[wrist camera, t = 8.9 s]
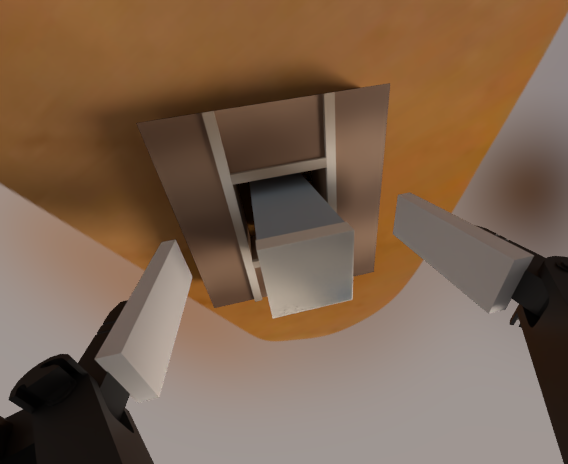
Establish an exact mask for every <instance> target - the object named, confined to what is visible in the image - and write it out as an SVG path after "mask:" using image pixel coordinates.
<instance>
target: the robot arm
mask: <svg viewBox="0 0 568 464" xmlns="http://www.w3.org/2000/svg"><path fill="white" fill-rule="evenodd" d="M393 234H394V235H395V236H396V237H397V238H398V239H400V240H401V241H402V242H403V243H404V244H406V245H407V246H408V247H409V248H410V249H412V250H413V251H414V252H415V253H416V254H418V255H419V256H420V257H421V258H422V259H424V260H425V261H426V262H427V263H428V264H430V265H431V266H432V267H433V268H434V269H436V270H437V271H438V272H439V273H440V274H442V275H443V276H444V277H445V278H447V279H448V280H449V281H450V282H451V283H452V284H454V285H455V286H456V287H457V288H458V289H460V290H461V291H462V292H463V293H464V294H466V295H467V296H468V297H469V298H470V299H472V300H473V301H474V302H475V303H476V304H478V305H479V306H480V307H481V308H482V309H484V310H485V311H486V312H487V313H493V312H497V311H501V310H505V309H506V308H507V306H508V304H509V302H510V300H511V298H512V299H513V300H515V301H516V302H517V303H519V305H518V307H517V309H516V311H515V312H514V314H513V316H512V318H511V320H510V325H514V323H515V322H516V320H518V319H519V320H520V325H519V327H521V328H522V330H523V333H524V337H525V340H526V343H527V346H528V349H529V353H530V356H531V359H532V362H533V365H534V368H535V372H536V375H537V378H538V382H539V385H540V388H541V391H542V394H543V397H544V401H545V404H546V407H547V411H548V414H549V417H550V420H551V423H552V426H553V430H554V433H555V436H556V439H557V443H558V446H559V449H560V452H561V455H562V459H563V462H564V464H568V257H561V256H552V257H547V258H544V257H543V256H541V255H539V254H537V253H535V252H533V251H531V250H529V249H526V248H524V247H522V246H520V245H518V244H516V243H514V242H512V241H510V240H507V239H506V238H504V237H502V236H498V234H496V233H494V232H492V231H490V230H488V229H486V228H483V227H479V226H475V225H473V224H471V223H469V222H467V221H465V220H463V219H461V218H459V217H457V216H455V215H453V214H451V213H449V212H447V211H445V210H443V209H441V208H439V207H438V206H436V205H434V204H432V203H430V202H428V201H426V200H424V199H422V198H420V197H418V196H416V195H414V194H412V193H405V194H400V195H398V199H397V207H396V215H395V222H394V230H393ZM191 281H192V275H191V273H190V270H189V268H188V266H187V264H186V261H185V259H184V257H183V255H182V253H181V250H180V248H179V246H178V244H177V241H176V239H175V240H170V241H165V242H161V244H160V246H159V247H158V249H157V251H156V253H155V254H154V256H153V258H152V260H151V261H150V263H149V265H148V267H147V268H146V270H145V272H144V274H143V275H142V277H141V279H140V280H139V282H138V284H137V286H136V287H135V289H134V291H133V293H132V295H131V296H130V298H129V300H127V301H123V302H120V303H119V304H118V305H117V306H116V307H115V308H114V309H113V310H112V311H111V312H110V313H109V315H108V316H107V318H106V319H105V321H104V323H103V325H102V326H101V327H100V329H99V330H98V332H97V335H95V337H94V338H93V340H92V342H91V343H90V345H89V346H88V348H87V350H86V351H85V353H84V354H83V356H82V357H81V359H80V361H79V362H78V363H77V362H76V361H75V360H74V359H72V358H71V357H70V356H69V355H68V354H59V355H57V356H53V357H50V358H49V359H47V360H45V361H43V362H41V363H39V364H38V365H37V366H35V367H34V368H32V369H31V370H30V371H28V372H27V373H26V374H25V375H24V376H23V377H22V378H21V379H20V380H19V381H18V382H17V384H16V385H15V387H14V388H13V390H12V391H11V393H10V397H9V400H10V401H11V402H13V403H15V404H16V405H18V406H19V407H21V408H22V409H23V410H21V411H19V412H17V413H15V414H13V415H11V416H9V417H7V418H5V419H4V418H3V417H1V416H0V464H154V463H153V461H152V459H151V457H150V454H149V452H148V450H147V448H146V446H145V444H144V442H143V440H142V438H141V436H140V434H139V431H138V429H137V427H136V425H135V423H134V421H133V419H132V417H131V415H130V413H129V411H128V410H127V409H126V408H125V406H126V403H127V400H128V398H129V395H130V396H131V397H132V398H133V399H134V400H135V401H136V402H137V403H140V402H144V401H148V400H152V399H156V398H159V397H160V393H161V390H162V386H163V382H164V379H165V375H166V371H167V368H168V364H169V361H170V357H171V353H172V349H173V346H174V342H175V339H176V335H177V332H178V328H179V324H180V321H181V317H182V313H183V310H184V306H185V302H186V299H187V295H188V292H189V288H190V284H191Z"/></svg>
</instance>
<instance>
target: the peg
mask: <svg viewBox="0 0 568 464" xmlns="http://www.w3.org/2000/svg"><path fill="white" fill-rule="evenodd" d="M249 183H250V191H251V199H252V207H253V215H254V223H255V231H256V239H257V240H255V241H256V250H257V254H258V258H259V263H260V267H261V271H262V275H263V279H264V283H265V288H266V292H267V296H268V300H269V304H270V308H271V313H272V317H273V318H277V317H281V316H285V315H289V314H294V313H298V312H302V311H306V310H311V309H315V308H319V307H323V306H328V305H332V304H336V303H340V302H345V301H349V300H352V298H353V262H354V229H353V228H352V227H351V226H350V225H349V224H348V223H347V222H344V221H343V219H342V218H341V217H340V216H339V215H338V214H337V213H336V212H335V211H334V210H333V208H332V207H331V206H330V205H329V204H328V203H327V202H326V201H325V200H324V199H323V197H322V196H321V195H320V194H319V193H318V192H317V191H316V190H315V189H314V188H313V186H312V185H311V184H310V183H309V182H308V181H307V180H306V179H305V178H304V176H303V175H302V174H301V173H300V172H299V173H294V174H288V175H283V176H278V177H272V178H267V179H261V180H256V181H250V182H249Z"/></svg>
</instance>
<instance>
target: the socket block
mask: <svg viewBox="0 0 568 464" xmlns="http://www.w3.org/2000/svg"><path fill="white" fill-rule="evenodd" d="M389 91H390V83H389V84H383V85H376V86H370V87H363V88H357V89H350V90H344V91H337V92H331V93H325V94H318V95H312V96H305V97H299V98H293V99H286V100H280V101H274V102H267V103H261V104H254V105H248V106H242V107H235V108H229V109H222V110H216V111H210V112H203V113H197V114H191V115H184V116H178V117H171V118H165V119H159V120H152V121H146V122H140V123H136V124H137V126H138V128H139V131H140V133H141V135H142V138H143V140H144V143H145V145H146V147H147V150H148V152H149V154H150V157H151V159H152V161H153V164H154V166H155V169H156V171H157V173H158V176H159V178H160V180H161V183H162V185H163V187H164V190H165V192H166V195H167V197H168V199H169V202H170V204H171V206H172V209H173V211H174V213H175V216H176V218H177V221H178V223H179V225H180V228H181V230H182V232H183V235H184V237H185V239H186V242H187V244H188V247H189V249H190V251H191V254H192V256H193V258H194V261H195V263H196V265H197V268H198V270H199V273H200V275H201V277H202V280H203V282H204V284H205V287H206V289H207V291H208V294H209V296H210V299H211V301H212V303H213V306H214V308H217V307H221V306H226V305H230V304H234V303H239V302H243V301H248V300H252V299H255V301H260V300H262V297H265V296H267V292H266V288H265V283H264V279H263V275H262V271H261V267H260V263H259V258H258V254H257V250H256V241H255V240H257V239H256V236H251V237H250V233H249V229H248V225H247V221H246V217H245V213H244V209H243V205H242V201H241V197H240V193H239V189H238V185H237V184H240V183H245V182H250V181H256V180H261V179H267V178H272V177H278V176H283V175H288V174H294V173H299V172H305V171H310V170H312V183H313V188H314V189H315V190H316V191H317V192H318V193H319V194H320V195H321V196H322V197H323V199H324V200H325V201H326V202H327V203H328V204H329V205H330V206H331V207H332V208H333V210H334V211H335V212H336V213H337V214H338V215H339V216H340V217H341V218H342V219H343V221H344V222H347V223H348V224H349V225H350V226H351V227H352V228H353V229H354V262H353V276H358V275H362V274H366V273H371V272H374V262H375V250H376V239H377V228H378V216H379V205H380V193H381V182H382V171H383V159H384V148H385V136H386V125H387V114H388V102H389Z"/></svg>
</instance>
